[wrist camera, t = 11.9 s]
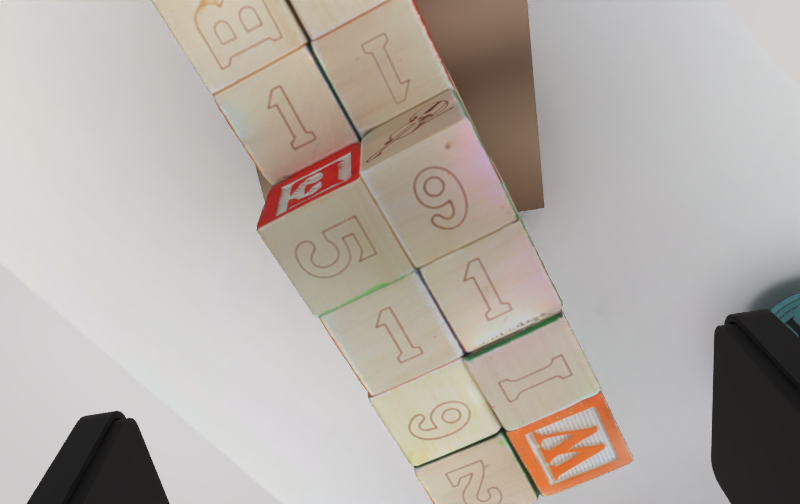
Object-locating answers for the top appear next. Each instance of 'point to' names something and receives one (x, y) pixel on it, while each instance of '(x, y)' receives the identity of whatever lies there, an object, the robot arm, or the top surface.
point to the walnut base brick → (491, 84)
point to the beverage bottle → (789, 313)
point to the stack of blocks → (405, 241)
